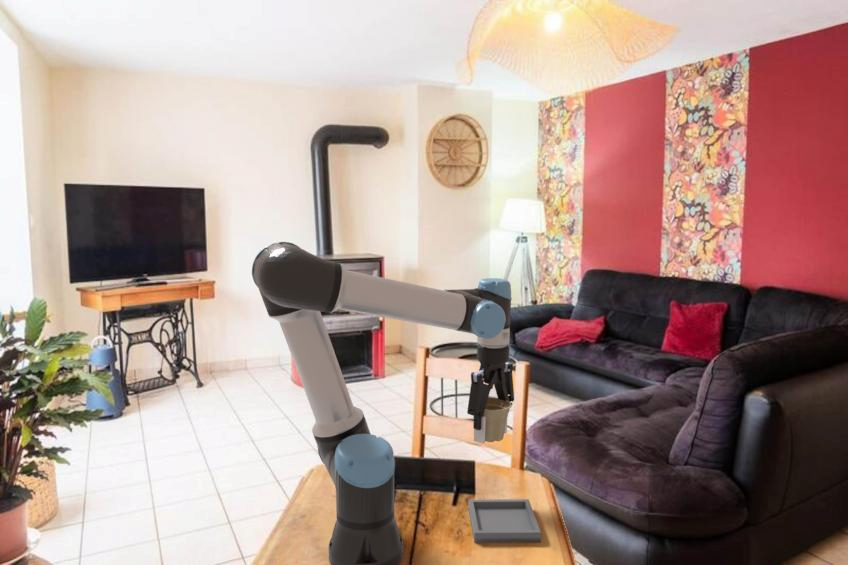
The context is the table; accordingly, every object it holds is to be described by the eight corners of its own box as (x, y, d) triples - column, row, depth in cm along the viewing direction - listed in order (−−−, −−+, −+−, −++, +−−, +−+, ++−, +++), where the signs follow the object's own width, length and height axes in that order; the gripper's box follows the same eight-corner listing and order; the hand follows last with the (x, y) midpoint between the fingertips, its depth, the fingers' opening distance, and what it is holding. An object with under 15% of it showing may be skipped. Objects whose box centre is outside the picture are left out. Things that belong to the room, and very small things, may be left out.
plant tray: (474, 542, 128) (474, 532, 128) (468, 508, 142) (468, 499, 142) (540, 542, 128) (540, 532, 128) (528, 508, 142) (528, 499, 142)
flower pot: (509, 431, 151) (510, 397, 150) (511, 446, 142) (513, 410, 140) (471, 429, 152) (471, 396, 150) (471, 444, 142) (472, 409, 141)
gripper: (478, 355, 133) (476, 454, 136) (531, 339, 148) (528, 428, 152) (452, 349, 138) (450, 444, 141) (506, 334, 153) (503, 421, 157)
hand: (490, 436), depth 146 cm, fingers closed on flower pot, 8 cm apart
